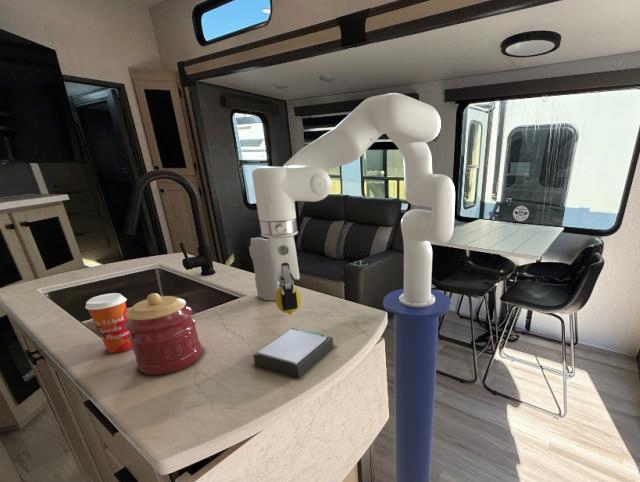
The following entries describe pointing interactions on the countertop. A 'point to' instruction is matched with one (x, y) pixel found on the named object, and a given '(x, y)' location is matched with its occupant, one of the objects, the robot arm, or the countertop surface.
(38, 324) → the countertop surface
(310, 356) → the scale
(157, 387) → the countertop surface
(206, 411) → the countertop surface
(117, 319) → the paper cup
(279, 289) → the lemon
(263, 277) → the grey stone slab
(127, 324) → the kitchen canister
